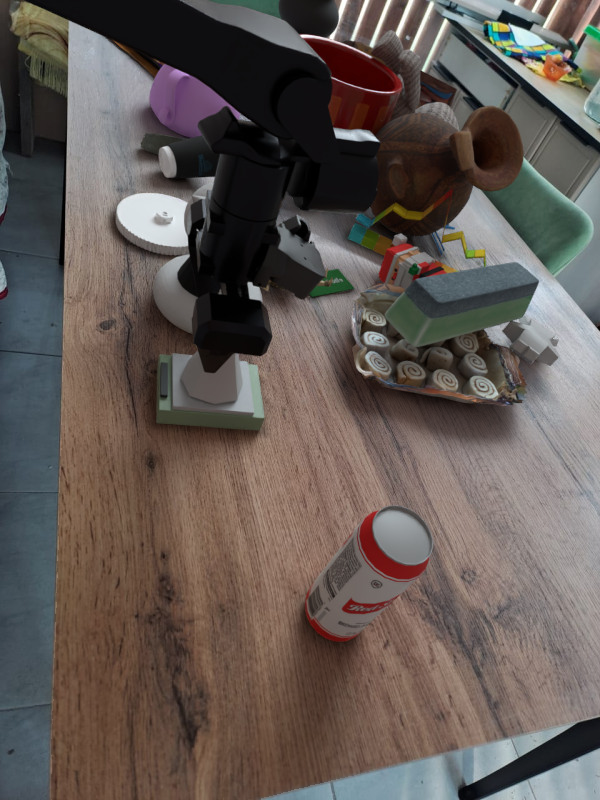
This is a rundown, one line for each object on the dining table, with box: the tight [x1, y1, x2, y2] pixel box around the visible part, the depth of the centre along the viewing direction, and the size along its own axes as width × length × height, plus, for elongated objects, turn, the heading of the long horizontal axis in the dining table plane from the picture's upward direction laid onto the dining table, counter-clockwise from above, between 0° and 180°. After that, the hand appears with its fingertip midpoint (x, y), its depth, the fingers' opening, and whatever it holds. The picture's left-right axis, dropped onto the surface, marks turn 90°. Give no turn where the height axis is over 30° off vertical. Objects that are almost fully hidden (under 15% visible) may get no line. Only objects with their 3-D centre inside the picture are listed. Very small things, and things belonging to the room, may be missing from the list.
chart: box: [347, 188, 487, 273], centre depth 99 cm, size 30×3×15 cm, turn 72°
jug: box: [369, 105, 525, 237], centre depth 99 cm, size 22×22×30 cm
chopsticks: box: [431, 223, 456, 256], centre depth 118 cm, size 1×25×5 cm
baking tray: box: [350, 283, 528, 407], centre depth 84 cm, size 30×22×5 cm
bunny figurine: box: [502, 314, 561, 367], centre depth 94 cm, size 10×5×15 cm
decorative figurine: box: [152, 181, 263, 334], centre depth 71 cm, size 15×15×20 cm
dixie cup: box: [158, 135, 220, 180], centre depth 98 cm, size 8×8×11 cm
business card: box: [308, 268, 355, 298], centre depth 91 cm, size 9×1×5 cm
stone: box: [140, 132, 187, 155], centre depth 102 cm, size 12×4×5 cm
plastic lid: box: [115, 192, 189, 257], centre depth 87 cm, size 14×14×2 cm
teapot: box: [148, 64, 241, 139], centre depth 111 cm, size 25×18×14 cm
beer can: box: [304, 504, 434, 643], centre depth 50 cm, size 6×6×16 cm
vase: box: [278, 0, 340, 38], centre depth 131 cm, size 18×18×35 cm
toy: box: [371, 29, 461, 131], centre depth 120 cm, size 18×14×30 cm
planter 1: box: [299, 34, 402, 136], centre depth 111 cm, size 23×23×20 cm
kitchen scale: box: [155, 352, 266, 432], centre depth 67 cm, size 12×9×3 cm
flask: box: [181, 350, 243, 404], centre depth 63 cm, size 7×7×10 cm
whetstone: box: [385, 261, 540, 347], centre depth 84 cm, size 28×7×7 cm, turn 125°
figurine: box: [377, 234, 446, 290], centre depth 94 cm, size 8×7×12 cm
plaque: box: [419, 69, 458, 109], centre depth 137 cm, size 20×2×30 cm
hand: (207, 338), depth 57 cm, fingers open, 9 cm apart
